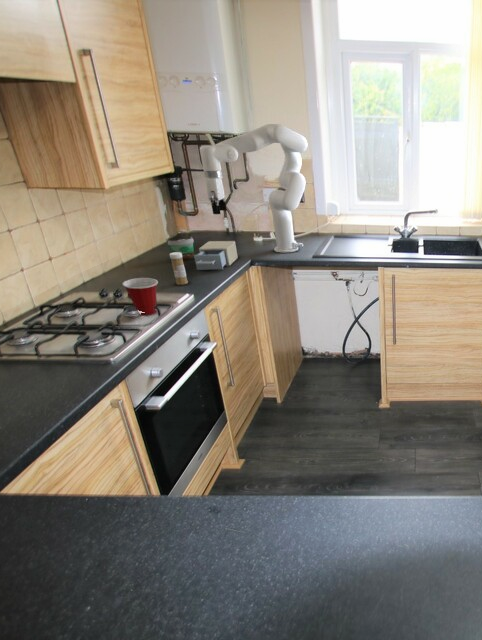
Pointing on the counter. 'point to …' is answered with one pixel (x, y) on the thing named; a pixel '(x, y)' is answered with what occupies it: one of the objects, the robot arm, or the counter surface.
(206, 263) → the grey drawer
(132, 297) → the plastic cup
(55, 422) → the counter surface
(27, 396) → the counter surface
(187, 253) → the food container
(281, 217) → the robot arm
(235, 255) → the cream drawer box
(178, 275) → the sprinkles bottle
